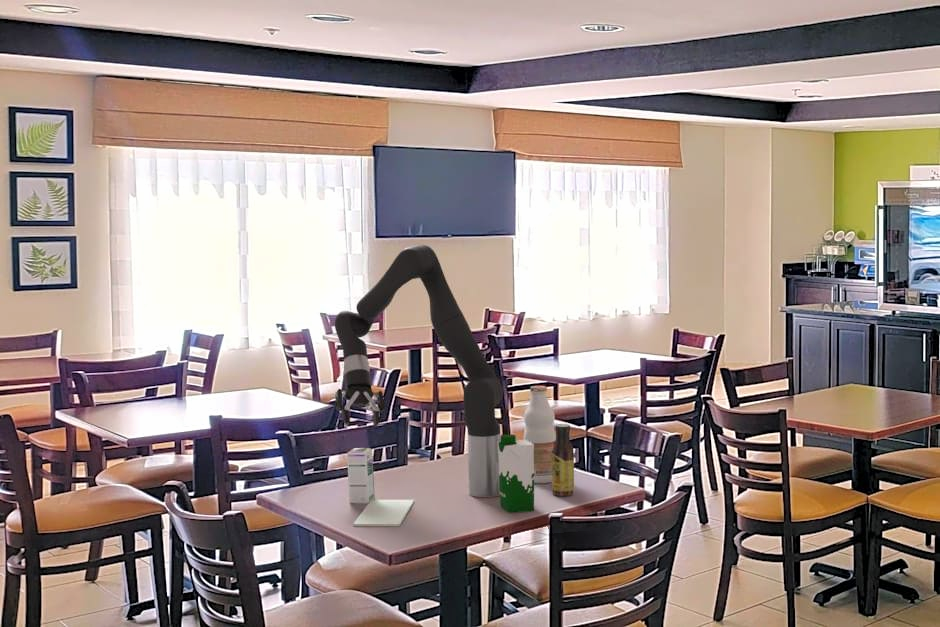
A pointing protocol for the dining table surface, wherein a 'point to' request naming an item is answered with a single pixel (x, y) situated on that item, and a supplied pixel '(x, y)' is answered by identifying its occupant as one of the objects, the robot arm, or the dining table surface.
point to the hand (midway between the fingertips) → (362, 424)
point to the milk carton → (516, 474)
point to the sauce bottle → (562, 462)
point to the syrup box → (360, 475)
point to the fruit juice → (540, 433)
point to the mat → (384, 513)
